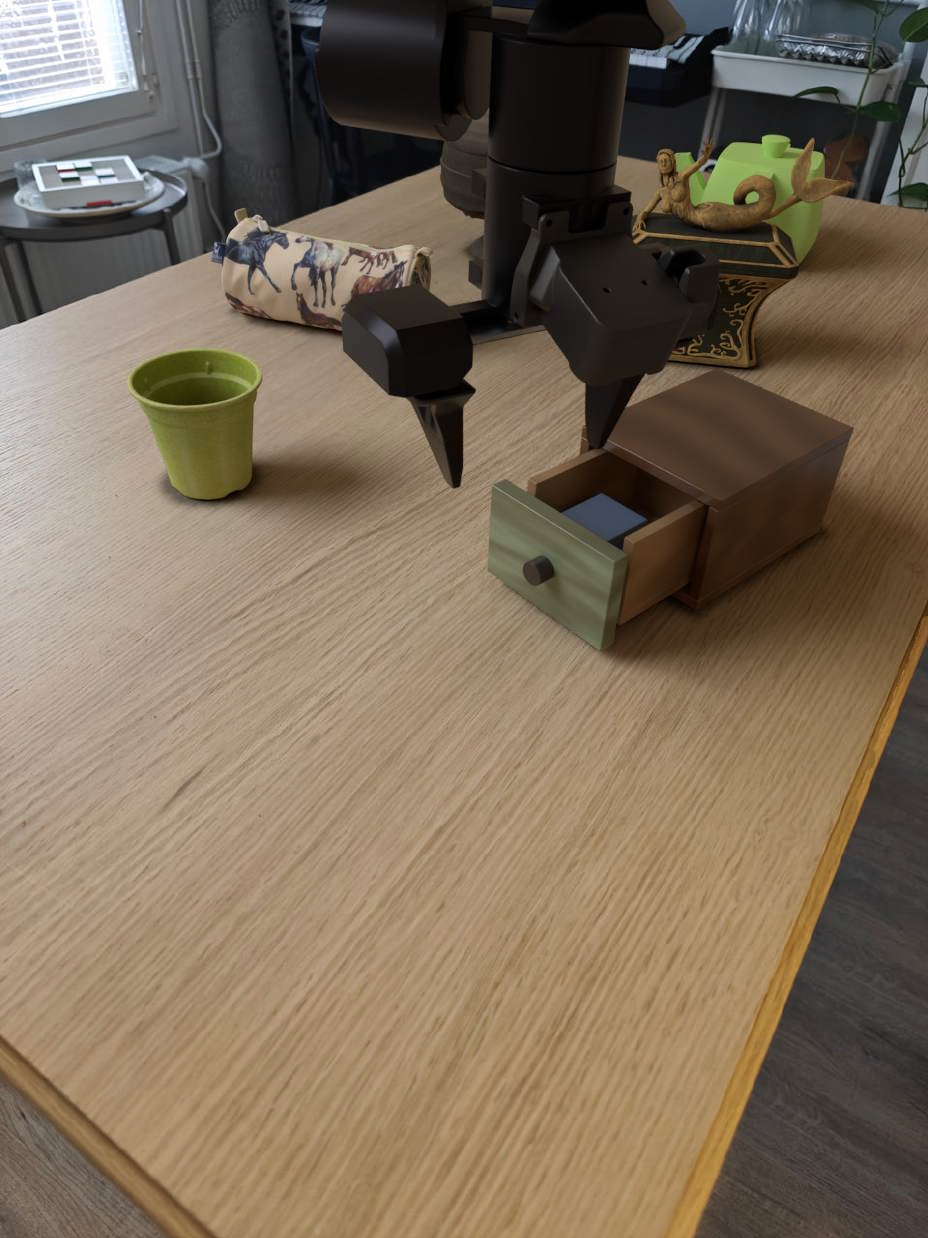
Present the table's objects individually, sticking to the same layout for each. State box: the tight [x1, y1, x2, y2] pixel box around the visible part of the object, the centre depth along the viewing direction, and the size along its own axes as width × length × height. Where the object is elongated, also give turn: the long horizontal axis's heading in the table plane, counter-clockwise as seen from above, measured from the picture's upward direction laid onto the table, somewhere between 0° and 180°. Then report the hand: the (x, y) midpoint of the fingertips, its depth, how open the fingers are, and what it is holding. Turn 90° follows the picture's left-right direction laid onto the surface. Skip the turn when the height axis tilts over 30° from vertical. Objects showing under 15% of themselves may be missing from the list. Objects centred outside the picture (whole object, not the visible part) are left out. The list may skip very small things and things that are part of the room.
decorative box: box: [631, 137, 854, 369], centre depth 86 cm, size 20×10×20 cm, turn 80°
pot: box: [439, 109, 489, 259], centre depth 107 cm, size 18×18×20 cm
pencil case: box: [210, 207, 434, 332], centre depth 92 cm, size 22×8×10 cm, turn 70°
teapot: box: [674, 134, 826, 264], centre depth 111 cm, size 18×20×13 cm
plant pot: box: [126, 347, 263, 500], centre depth 69 cm, size 9×9×9 cm
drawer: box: [486, 448, 710, 652], centre depth 60 cm, size 15×10×7 cm
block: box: [562, 493, 647, 551], centre depth 60 cm, size 4×4×4 cm
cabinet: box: [578, 367, 855, 611], centre depth 65 cm, size 15×12×9 cm
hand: (526, 464), depth 51 cm, fingers open, 9 cm apart
